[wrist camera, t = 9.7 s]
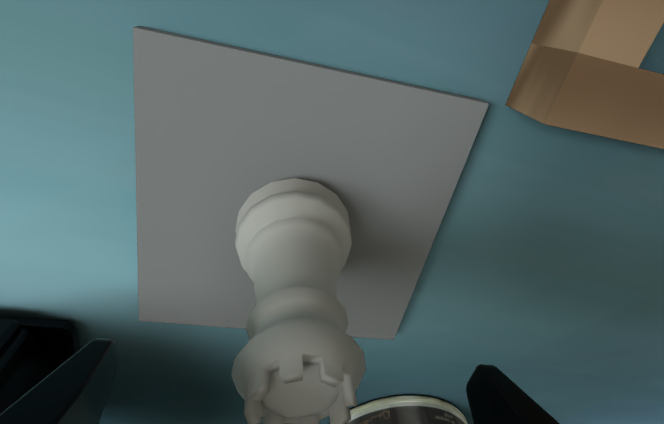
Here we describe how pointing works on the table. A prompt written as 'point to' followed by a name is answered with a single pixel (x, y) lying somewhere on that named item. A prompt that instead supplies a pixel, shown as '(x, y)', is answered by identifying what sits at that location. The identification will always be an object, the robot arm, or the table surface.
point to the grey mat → (284, 173)
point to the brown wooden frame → (595, 70)
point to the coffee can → (406, 411)
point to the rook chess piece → (296, 307)
